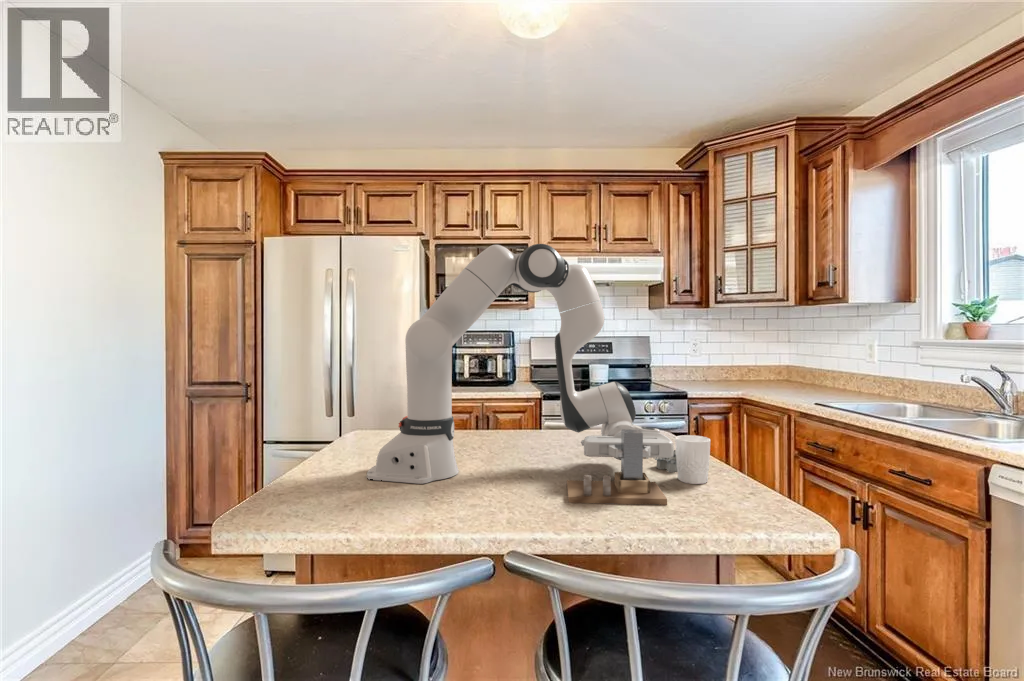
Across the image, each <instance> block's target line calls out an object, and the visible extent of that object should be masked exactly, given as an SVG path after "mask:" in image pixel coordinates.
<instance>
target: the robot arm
mask: <svg viewBox="0 0 1024 681" xmlns="http://www.w3.org/2000/svg"><path fill="white" fill-rule="evenodd" d="M510 285H511V286H514V287H515V288H518V289H520V290H521V291H524V292H527V293H539V292H541V291H548V292H549V293H550V294H551V295H552V296H553V298H554V301H556V305H557V309H558V312H559V315H560V328H559V332H558V333H557V334H556V335H555V336H554V337H555V338H554V349H555V350H554V351H555V363H556V371H557V373H556V374H557V379H558V387H559V394H560V401H559V402H560V404H559V409H560V410H559V412H560V418H561V420H562V422H563V425H564V426H565V428H567V429H569V430H571V431H573V432H576V433H582V432H585V431H587V430H589V429H591V428H593V427H597V426H600V425H601V427H600V433H601V434H600V435H587V436H585V438H584V439H582V440H581V441H580V444H581V446H582V447H583V454H584V456H585V457H589V458H593V457H596V458H614V459H615V460H618V461H621V458H623V455H622V454H623V450H622V449H621V429H628V430H640V431H641V432H642V433H643V460H649V458H650V459H652V458H671V457H673V453H674V449H675V448H674V442H673V440H672V439H671V438H670V437H668V436H667V434H666V435H665V434H664V433H661V430H660V429H659V428H653V427H646V426H641V425H636V424H633V423H634V421H635V419H636V415H637V412H636V408H635V404H634V401H633V399H632V397H631V394H630V392H629V390H628V389H627V388H626V387H625V386H624V385H623V384H621V383H619V382H618V381H611V382H607V383H605V384H601V385H598V386H596V387H595V386H594V387H591V388H587V389H585V390H581V391H576V389H575V382H574V375H573V374H574V372H573V366H572V365H573V364H572V362H573V358H574V356H575V355H576V353H577V352H578V351H579V350H580V349H581V348H582V347H584V346H585V345H587V343H589V342H591V341H592V340H593V339H594V338H595V337H596V336H598V334H599V333H600V332H601V330H602V328H603V326H604V324H605V314H604V308H603V305H602V301H601V298H600V294H599V292H598V289H597V287H596V284H595V282H594V280H593V278H592V276H591V274H590V272H589V270H588V269H587V268H586V267H585V266H584V265H581V264H575V263H574V264H573V263H572V264H569V263H568V261H567V260H566V259H565V258H564V257H563V256H562V255H560V253H559V252H558V251H557V250H556V249H555V248H554V247H553V246H551V245H548V244H545V243H536V244H532V245H530V246H528V247H526V248H525V249H524V250H523V252H521V253H514V252H512V251H510V250H509V249H508V248H507V247H505V246H503V245H501V244H492V245H490V246H488V247H487V248H485V249H483V251H481V252H480V253H479V254H478V255H477V256H475V257H474V258H473V259H472V260H471V261H470V262H468V264H467V265H466V266H465V267H464V268H463V269H462V270H461V271H460V273H459V274H458V275H457V276H456V277H455V278H454V279H453V280H452V281H451V283H450V284H449V285H448V286H446V288H445V289H444V290H443V292H442V293H441V294H440V295H439V296H438V297H437V298H436V300H435V301H434V302H433V303H432V305H431V306H430V307H429V308H428V309H427V310H426V312H424V314H423V315H422V316H421V317H420V318H419V319H417V320H416V321H415V322H413V323H412V324H411V325H410V326H409V328H408V329H407V331H406V334H405V340H404V341H405V366H406V367H405V370H406V388H407V389H406V392H407V395H406V397H407V399H406V400H407V403H406V404H407V408H406V409H407V415H406V416H404V417H402V420H400V421H399V423H398V428H399V431H400V432H399V433H398V434H397V435H396V436H394V437H393V438H392V439H390V440H389V441H388V442H387V443H385V444H384V445H383V446H382V447H381V449H379V451H378V454H377V458H376V464H375V465H373V466H371V468H369V469H368V471H366V472H367V473H366V479H367V478H368V480H370V479H373V481H381V480H382V481H383V482H394V483H396V482H397V483H407V484H419V485H420V484H421V485H422V484H423V485H424V484H427V483H428V484H429V483H431V482H434V481H439V480H445V479H449V478H452V477H454V476H456V475H458V474H459V472H460V471H459V467H458V464H457V458H456V455H455V448H454V436H455V420H454V416H453V413H452V412H453V409H452V408H453V404H452V403H453V402H452V401H453V398H452V397H453V392H452V391H453V390H452V387H453V386H452V384H453V383H452V382H453V381H452V379H453V378H452V376H453V375H452V374H453V346H455V344H456V343H457V342H458V340H460V338H461V337H463V335H464V334H465V333H467V331H468V330H469V329H470V328H471V327H472V326H473V325H474V323H476V322H477V320H478V319H479V318H481V316H482V315H483V314H484V313H485V312H486V310H488V308H489V307H490V306H491V305H492V304H493V302H494V301H495V300H496V299H497V298H498V297H499V296H500V295H501V293H502V292H503V291H504V290H505V289H506V288H507V287H509V286H510Z"/></svg>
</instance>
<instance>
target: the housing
mask: <svg viewBox="0 0 1024 681" xmlns="http://www.w3.org/2000/svg"><path fill="white" fill-rule="evenodd" d="M613 473H614V480H612V477H611V475H607V474H605V475H602V480H592V475H590V474H584V475H583V480H580V479H579V480H575V479H574V480H573V479H572V480H571V479H567V480H566V490H567V498H568V504H570V503H571V504H576V503H577V504H605V503H614V505H615V504H616V503H617V504H619V505H653V504H659V505H660V504H661V505H662V506H665V505H666V506H667V505H668V498H667V497H666V496H665V493H663V491H662V489H661V488H660V487H659V485H658V484H657V483H656V481H651V480H650V478H649V477H648V475H647V474H646V473H645V472H643V480H621V471H620V472H619V471H614V472H613ZM617 504H616V505H617ZM661 505H660V506H661Z"/></svg>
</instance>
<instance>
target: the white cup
mask: <svg viewBox="0 0 1024 681" xmlns="http://www.w3.org/2000/svg"><path fill="white" fill-rule="evenodd" d="M674 441H675V450H676V460H677V468H678V469H677V472H678V473H677V480H679V481H680V482H683V483H685V484H691V485H702V484H706V482H707V483H708V480H709V470H710V458H711V457H710V455H711V438H709V437H707V436H702V435H694V434H692V435H691V434H684V435H677V436H675V439H674Z"/></svg>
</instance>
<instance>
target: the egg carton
mask: <svg viewBox="0 0 1024 681" xmlns="http://www.w3.org/2000/svg"><path fill="white" fill-rule="evenodd" d="M653 459H654V460H655V461H656V469H657V468H658V469H657V470H665V469H667V470H666V472H667V471H668V472H667V473H675V472H677V469H678V468H677V460H676V449H675V450H674V453H673V457H671V458H653Z"/></svg>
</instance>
